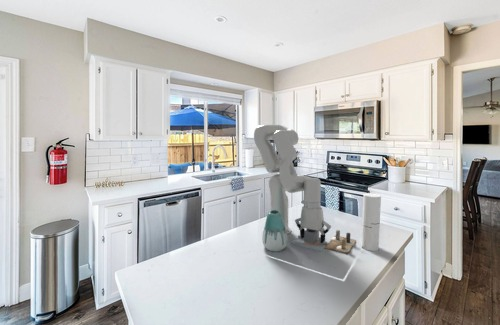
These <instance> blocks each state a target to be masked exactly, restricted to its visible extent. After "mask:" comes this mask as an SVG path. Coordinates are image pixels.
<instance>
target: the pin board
mask: <svg viewBox="0 0 500 325" xmlns="http://www.w3.org/2000/svg"><path fill="white" fill-rule="evenodd" d="M345 235H346V236H341V230H340V229H336V230H335V235H334V236H332V237H331V239H330V240H329V242H327V245H326V246H325V248H324V249H326V250H328V251H329V250H330V251H332V252H333V251H334V252H336V253H337V252H338V253H342V254H345V255H348V254H349V253H350V251H351V250H352V248H353V247H354V245H355V244H356V243H357V240H356V239H353V238H351V232H346V233H345Z"/></svg>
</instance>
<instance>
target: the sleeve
mask: <svg viewBox="0 0 500 325" xmlns="http://www.w3.org/2000/svg"><path fill="white" fill-rule="evenodd" d="M318 232H319V233H320V231H316V230H311V229H306V228H305V231H304V243H305V244H309V245H313V246H317V245H318V240H319V238H318Z"/></svg>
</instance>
